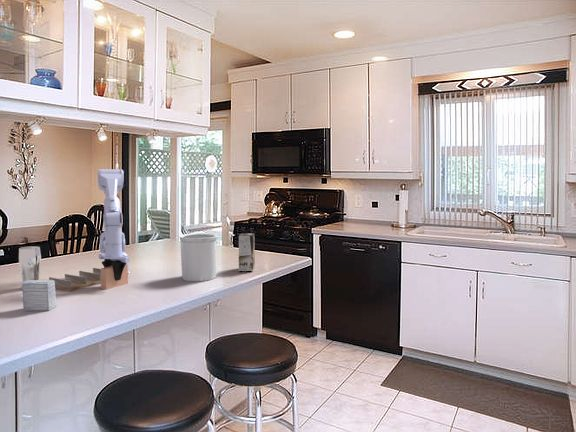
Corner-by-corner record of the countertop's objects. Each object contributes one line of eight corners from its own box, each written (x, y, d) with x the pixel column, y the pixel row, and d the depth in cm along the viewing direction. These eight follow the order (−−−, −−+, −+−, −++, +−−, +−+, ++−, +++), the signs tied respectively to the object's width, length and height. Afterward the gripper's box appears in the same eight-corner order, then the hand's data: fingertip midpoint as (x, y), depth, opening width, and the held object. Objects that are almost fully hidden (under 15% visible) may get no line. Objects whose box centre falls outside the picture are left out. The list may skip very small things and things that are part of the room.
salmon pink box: (122, 282, 168) (122, 263, 167) (128, 283, 166) (127, 264, 166) (101, 288, 159) (100, 268, 158) (106, 289, 157) (105, 269, 157)
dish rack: (94, 275, 178) (94, 267, 178) (116, 279, 172) (116, 270, 172) (47, 286, 160) (46, 277, 160) (70, 291, 154) (69, 281, 154)
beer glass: (17, 290, 154) (15, 249, 153) (23, 286, 161) (21, 246, 160) (39, 289, 156) (37, 248, 155) (44, 285, 163) (42, 245, 161)
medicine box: (56, 306, 136) (55, 279, 135) (49, 311, 132) (48, 283, 131) (31, 306, 136) (29, 279, 135) (22, 311, 131) (21, 283, 131)
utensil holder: (209, 283, 168) (209, 238, 166) (174, 280, 171) (173, 237, 169) (222, 274, 182) (222, 233, 181) (189, 272, 185) (189, 232, 184)
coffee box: (253, 272, 187) (253, 235, 186) (238, 272, 187) (238, 235, 186) (255, 267, 196) (255, 232, 195) (241, 267, 197) (240, 232, 195)
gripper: (91, 243, 161) (92, 279, 162) (118, 246, 154) (119, 284, 155) (107, 241, 167) (108, 275, 168) (134, 244, 160) (134, 280, 162)
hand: (114, 279), depth 162 cm, fingers closed on salmon pink box, 3 cm apart
